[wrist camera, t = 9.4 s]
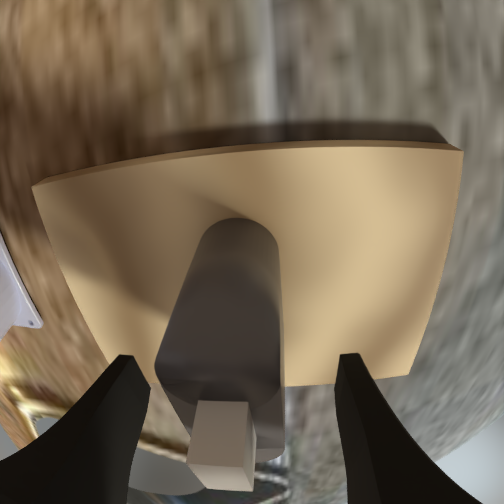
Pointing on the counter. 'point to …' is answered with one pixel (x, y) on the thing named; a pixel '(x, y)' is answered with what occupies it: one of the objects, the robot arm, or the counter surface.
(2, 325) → the robot arm
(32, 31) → the counter surface
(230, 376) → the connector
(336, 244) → the birch board
